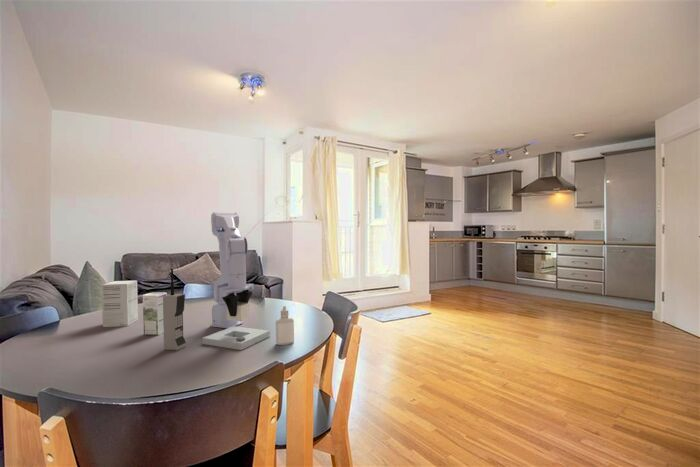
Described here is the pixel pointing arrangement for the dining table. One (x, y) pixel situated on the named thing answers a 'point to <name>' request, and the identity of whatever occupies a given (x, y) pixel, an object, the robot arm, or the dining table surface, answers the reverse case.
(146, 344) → the dining table surface
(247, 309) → the plug block
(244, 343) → the socket plate
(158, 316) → the syrup box
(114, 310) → the supplement box
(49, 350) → the dining table surface
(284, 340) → the eye dropper bottle
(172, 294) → the vintage mobile phone
